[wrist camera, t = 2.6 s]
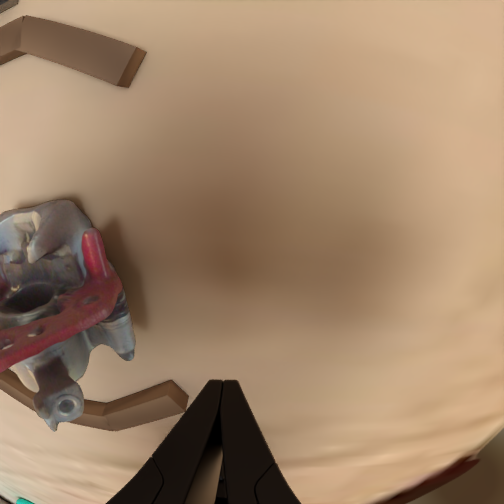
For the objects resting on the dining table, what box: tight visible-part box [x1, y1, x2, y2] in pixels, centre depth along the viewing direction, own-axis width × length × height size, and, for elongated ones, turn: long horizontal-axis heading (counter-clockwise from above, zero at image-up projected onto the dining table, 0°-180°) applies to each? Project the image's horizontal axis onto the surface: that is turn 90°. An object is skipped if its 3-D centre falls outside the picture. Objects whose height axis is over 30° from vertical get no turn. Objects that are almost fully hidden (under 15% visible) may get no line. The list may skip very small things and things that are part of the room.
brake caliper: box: [0, 199, 136, 432], centre depth 15 cm, size 11×11×12 cm
